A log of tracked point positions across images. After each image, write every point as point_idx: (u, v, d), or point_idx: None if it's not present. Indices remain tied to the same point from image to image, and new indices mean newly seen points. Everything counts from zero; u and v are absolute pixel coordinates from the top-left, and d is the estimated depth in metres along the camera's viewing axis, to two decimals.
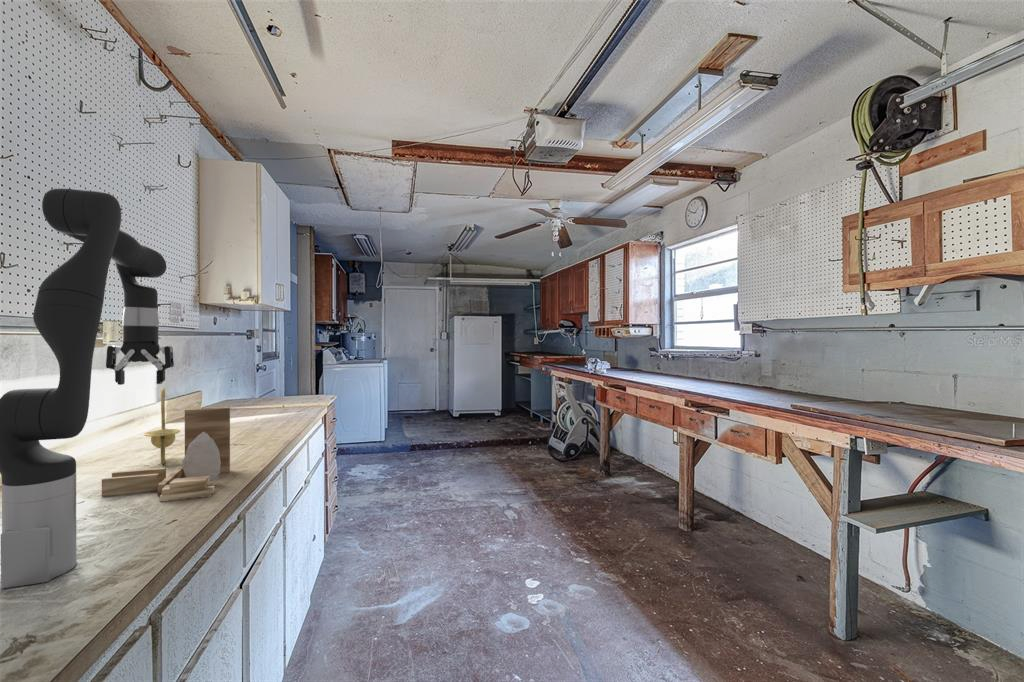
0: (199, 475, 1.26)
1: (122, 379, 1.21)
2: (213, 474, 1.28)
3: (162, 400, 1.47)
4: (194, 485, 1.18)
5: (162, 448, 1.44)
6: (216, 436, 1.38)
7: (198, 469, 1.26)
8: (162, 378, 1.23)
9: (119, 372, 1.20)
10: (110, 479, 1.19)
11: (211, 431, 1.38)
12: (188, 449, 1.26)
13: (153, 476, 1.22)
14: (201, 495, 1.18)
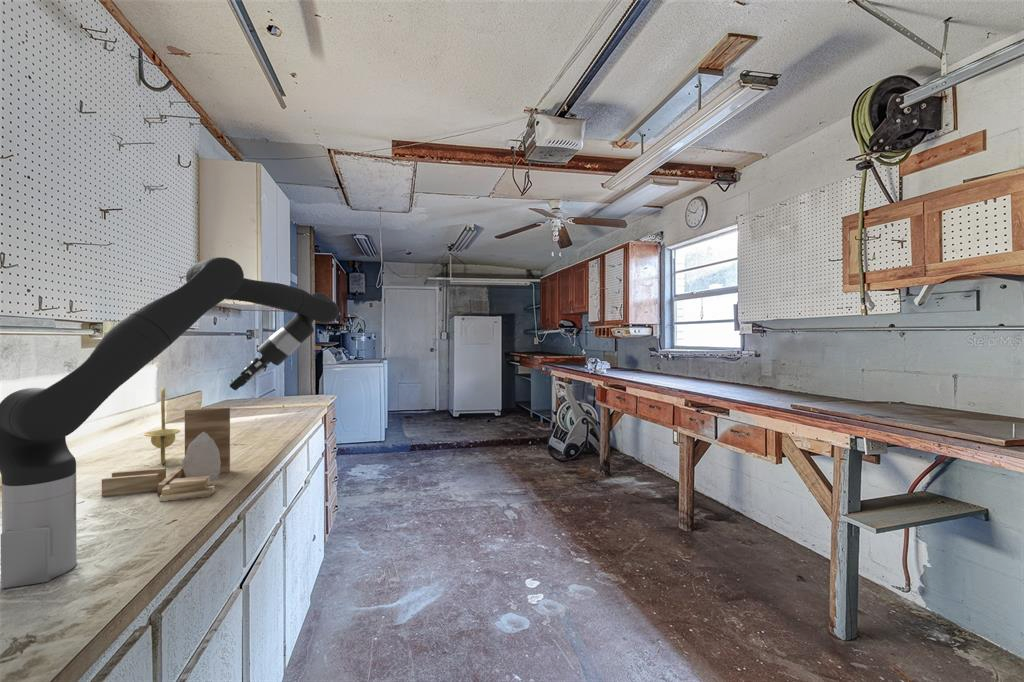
0: (199, 475, 1.26)
1: None
2: (213, 474, 1.28)
3: (162, 400, 1.47)
4: (194, 485, 1.18)
5: (162, 448, 1.44)
6: (216, 436, 1.38)
7: (198, 469, 1.26)
8: (234, 383, 1.24)
9: None
10: (110, 479, 1.19)
11: (211, 431, 1.38)
12: (188, 449, 1.26)
13: (153, 476, 1.22)
14: (201, 495, 1.18)
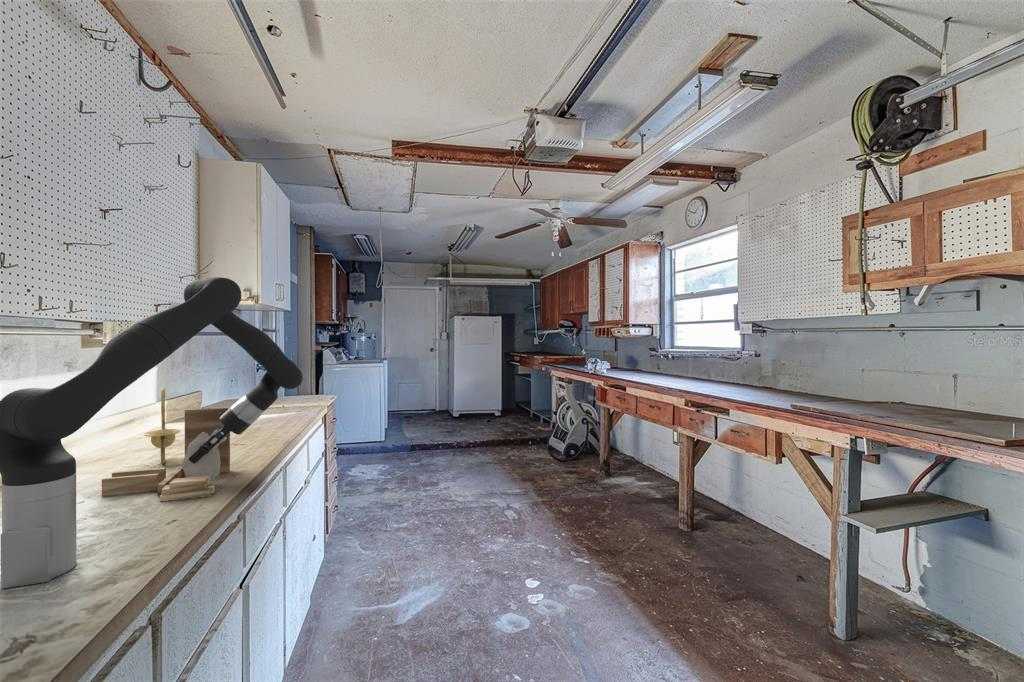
0: (199, 475, 1.26)
1: None
2: (213, 474, 1.28)
3: (162, 400, 1.47)
4: (194, 485, 1.18)
5: (162, 448, 1.44)
6: None
7: (198, 469, 1.26)
8: (193, 456, 1.25)
9: None
10: (110, 479, 1.19)
11: (211, 431, 1.38)
12: (188, 449, 1.26)
13: (153, 476, 1.22)
14: (201, 495, 1.18)
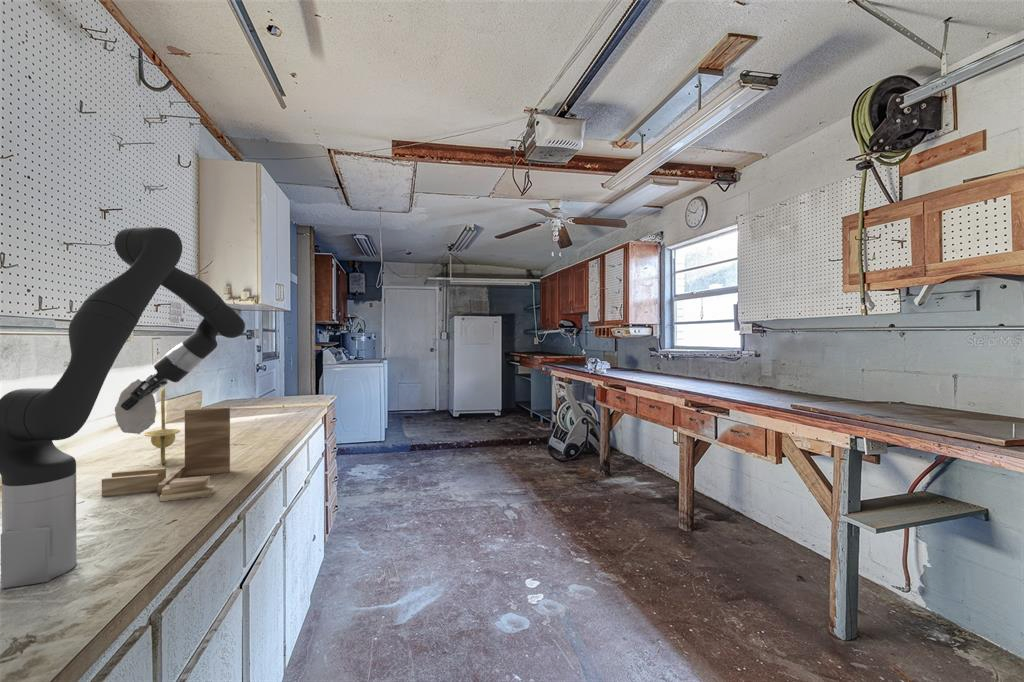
0: (132, 422, 1.22)
1: None
2: (147, 422, 1.24)
3: (162, 400, 1.47)
4: (194, 485, 1.18)
5: (162, 448, 1.44)
6: (216, 436, 1.38)
7: (131, 416, 1.22)
8: (125, 403, 1.21)
9: None
10: (110, 479, 1.19)
11: (211, 431, 1.38)
12: (121, 396, 1.22)
13: (153, 476, 1.22)
14: (201, 495, 1.18)
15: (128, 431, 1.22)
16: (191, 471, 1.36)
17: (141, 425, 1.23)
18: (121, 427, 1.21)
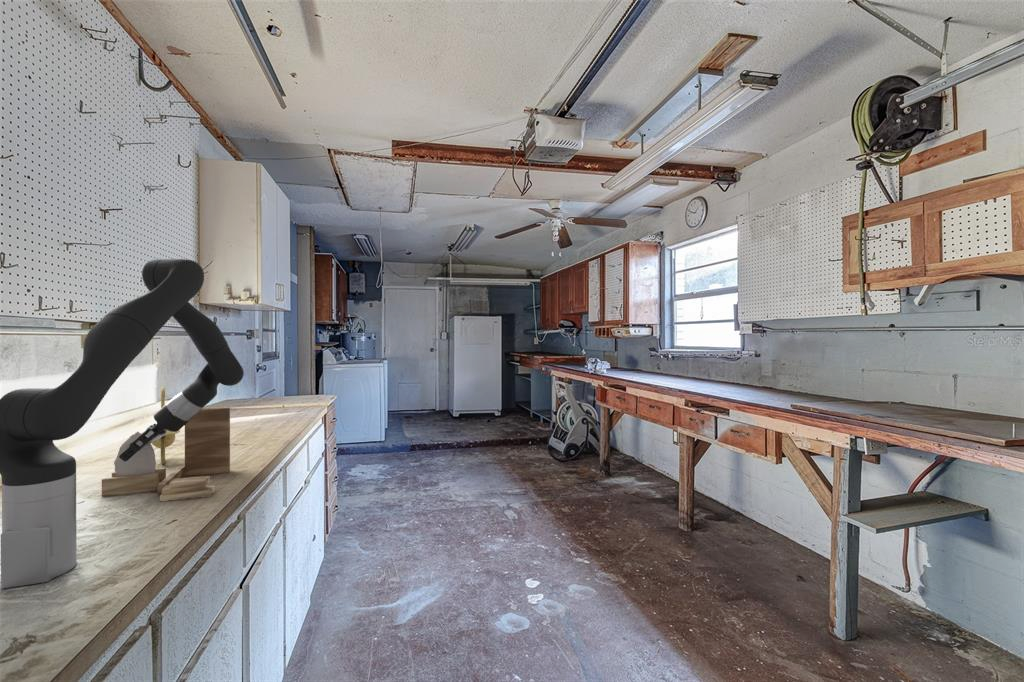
0: None
1: None
2: None
3: (162, 400, 1.47)
4: (194, 485, 1.18)
5: (162, 448, 1.44)
6: (216, 436, 1.38)
7: (131, 470, 1.22)
8: (123, 454, 1.19)
9: None
10: (110, 479, 1.19)
11: (211, 431, 1.38)
12: (120, 449, 1.22)
13: (153, 476, 1.22)
14: (201, 495, 1.18)
15: None
16: (191, 471, 1.36)
17: None
18: None
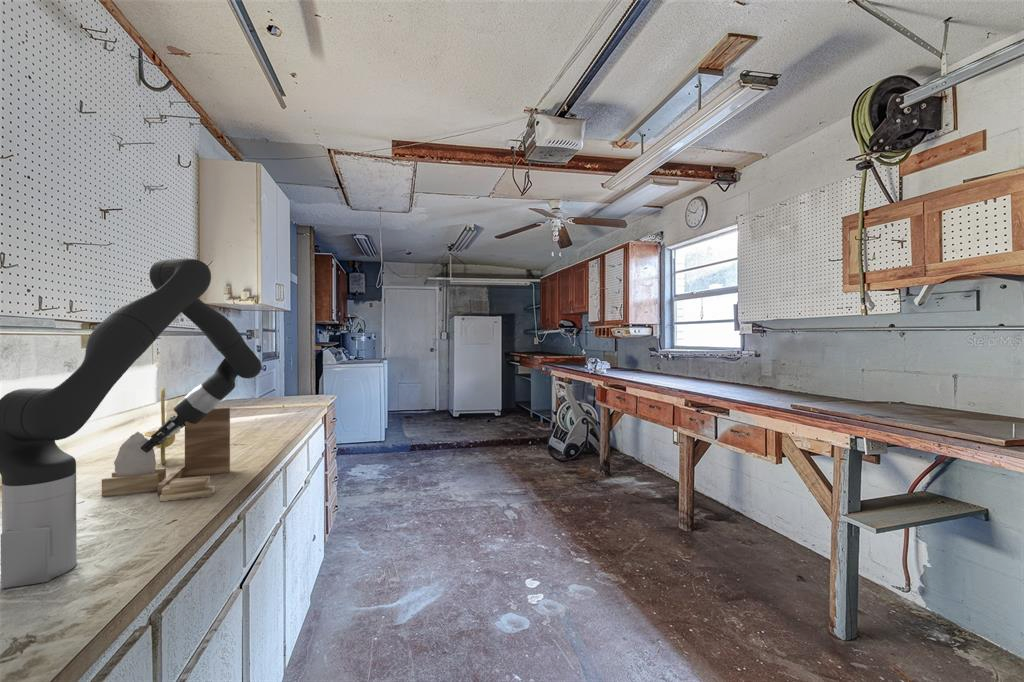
0: None
1: None
2: None
3: (162, 400, 1.47)
4: (194, 485, 1.18)
5: (162, 448, 1.44)
6: (216, 436, 1.38)
7: (131, 470, 1.22)
8: (145, 445, 1.20)
9: None
10: (110, 479, 1.19)
11: (211, 431, 1.38)
12: (120, 449, 1.22)
13: (153, 476, 1.22)
14: (201, 495, 1.18)
15: None
16: (191, 471, 1.36)
17: None
18: None
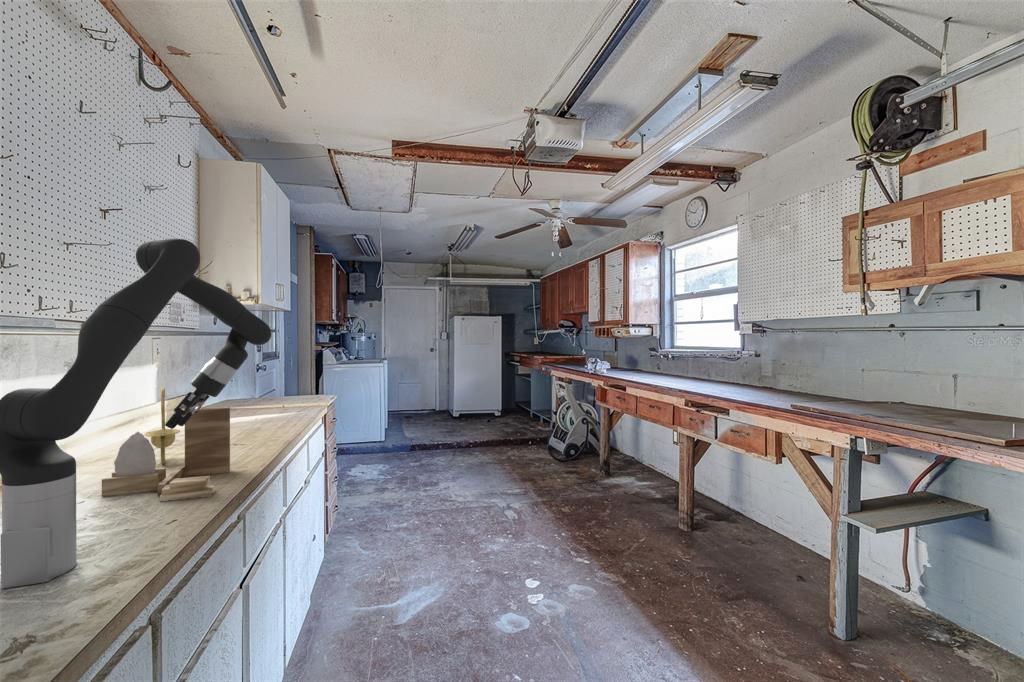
0: None
1: (181, 420, 1.27)
2: None
3: (162, 400, 1.47)
4: (194, 485, 1.18)
5: (162, 448, 1.44)
6: (216, 436, 1.38)
7: (131, 470, 1.22)
8: (169, 421, 1.19)
9: None
10: (110, 479, 1.19)
11: (211, 431, 1.38)
12: (120, 449, 1.22)
13: (153, 476, 1.22)
14: (201, 495, 1.18)
15: None
16: (191, 471, 1.36)
17: None
18: None
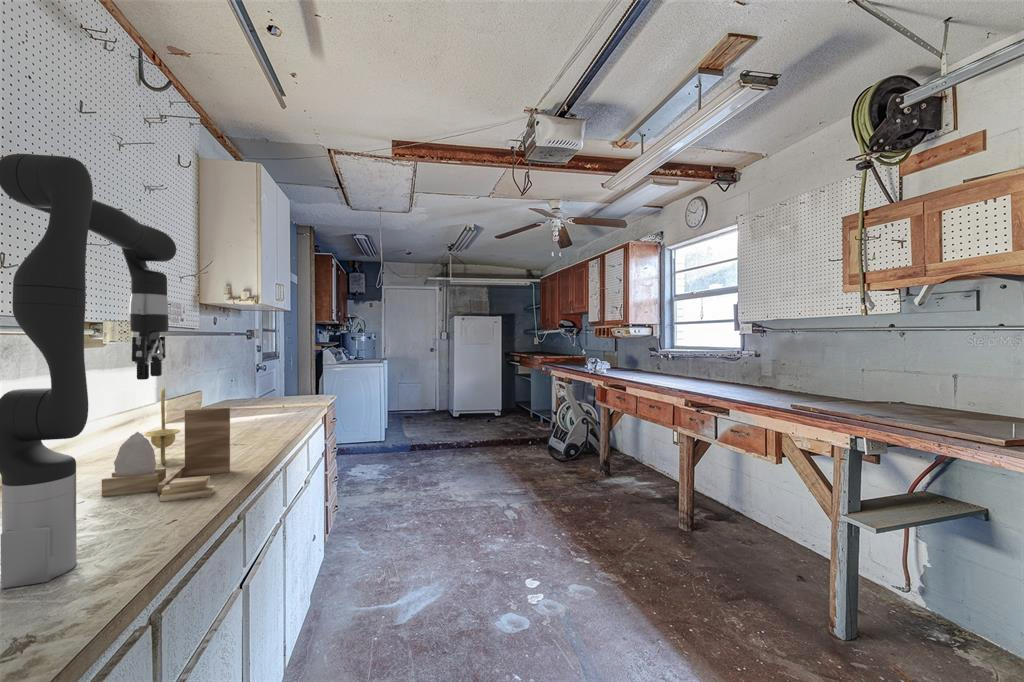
0: None
1: (155, 370, 1.16)
2: None
3: (162, 400, 1.47)
4: (194, 485, 1.18)
5: (162, 448, 1.44)
6: (216, 436, 1.38)
7: (131, 470, 1.22)
8: (138, 373, 1.07)
9: None
10: (110, 479, 1.19)
11: (211, 431, 1.38)
12: (120, 449, 1.22)
13: (153, 476, 1.22)
14: (201, 495, 1.18)
15: None
16: (191, 471, 1.36)
17: None
18: None
